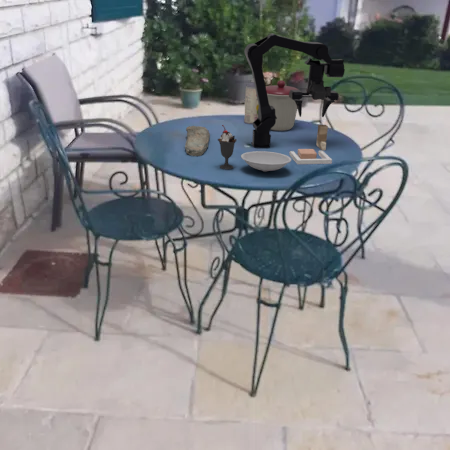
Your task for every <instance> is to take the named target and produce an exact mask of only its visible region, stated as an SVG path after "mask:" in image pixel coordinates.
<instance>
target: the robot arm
mask: <svg viewBox="0 0 450 450" xmlns="http://www.w3.org/2000/svg"><path fill="white" fill-rule="evenodd" d="M275 46H276V47H278V48H279V47H280V48H283V49H289V50H293V51H296V52H301V53H302V54H306V55H308V56H310V57H309V58H308V59H307V60H305V61H304V64H305V65H307V66H309V68H308V69H309V70H308V77H307V88H306V89H305V90H306V91H301V90H300V89H298V90H290V92H289V97H290V98H291V99H293V100H294V101H295V102H296V105H297V112H298V115H299V117H300V118H301V117H302V111H303V109H302V107H303V98H312V99H313V100H315V101H317V100H322V101H323V102H322V109H321V117H322V118H324V117H325V115H326V113H327V111H328V108H329V107H330V106H331V104H333V103H335V102H336V101H340V100H339V99H340V94H339V93H338V92H337V91H335V90H332V88H331V87H332V86H324V85H325V81H324V75H326V77H327V78H340V79H341V78H344V75H345V64H344V61H345V60H344V59H342V58H339V59H338V58H337V59H332V58H331V56H330V55H329V48H328V46H327V45H326V44H324V43H322V42H318V41H302V40H297V39H295V38H289V37H286V36H281V35H278V34H275V33H269V34H268V35H267V36H265V37H263V38H261V39H260V40H257V41H256V42H253V43H249V44H247V45H246V46H245V48H244V55H245V57H246V60H247V63H248V65H249V67H250V69H251V73H252V78H253V79H254V84H255V89H256V94H257V99H258V104H259V106H258V118H257V119H256V120H255V121H254V122H253V123H252V124H251V125H252V126H253V129H252V139H251V143H250V144H251V145H252V147H253V148H255V149H256V148H257V149H258V148H260V149H261V148H262V149H263V148H266V149H267V148H271V146H270V145H271V139H272V135H271V131H272V130H271V128H272V127H273V126H274V125H275V123H276V119H277V117H276V115H275V108H274V107H273V106H272V105H271V106H270V105H269V101H268V96H267V91H266V87H267V86H266V81H265V77H264V71H263V60H264V57H263V56H264V55H265V54H266V53H267V52H269V50H271V49H272V48H273V47H275ZM311 57H312V58H315V59H312V58H311ZM321 61H323V62H321Z"/></svg>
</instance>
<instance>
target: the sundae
mask: <svg viewBox="0 0 450 450" xmlns="http://www.w3.org/2000/svg"><path fill="white" fill-rule="evenodd" d="M221 127H223V128H224V130H223V131H222V134H221V135H220V137H219V138H217V141H218V142H219V146H220V153H221V156H222V157H224V164H221V165H220V166H219V168H220V169H222V170H227V171H229V170H232V169H234V166H233V165H230V164H229V163H230V162H229V159H230V158H231V157H232V156H233V153H234V148H235V144H236V142H237V138H235V137H236V136H235V135H233V134H232V133H231V132H230V131H228V130H227V129H226V127H225V126H224V124H222V125H221Z"/></svg>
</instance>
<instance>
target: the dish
mask: <svg viewBox="0 0 450 450" xmlns="http://www.w3.org/2000/svg"><path fill="white" fill-rule="evenodd" d="M240 158H241V159H242V160H243V161H244V162H245V163H246V164H247V165H248V166H249V167H251V168H253V169H255V170H259V171H262V172H264V173H266V172H269V171H270V172H271V171H272V172H273V171H278V170H280V169H282V168H283V167H285V166H286V165H288V164H290V163H291V162H292V157H291V156H290V155H287V154H283V153H280V152H275V151H274V152H273V151H264V150H258V151H256V150H255V151H246V152H244V153H242V154H240Z"/></svg>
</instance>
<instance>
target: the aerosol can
mask: <svg viewBox="0 0 450 450" xmlns="http://www.w3.org/2000/svg"><path fill="white" fill-rule="evenodd" d="M258 106H259V104H258V99H257V94H256V89H255V84H254V79H253V77H252V78H251V80H250V82H248V83H247V84H246V86H245V97H244V121H243V123H244V124H247V125H253V124H252V123H253V122H254V121H255V120H256V119H257V118H258Z"/></svg>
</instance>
